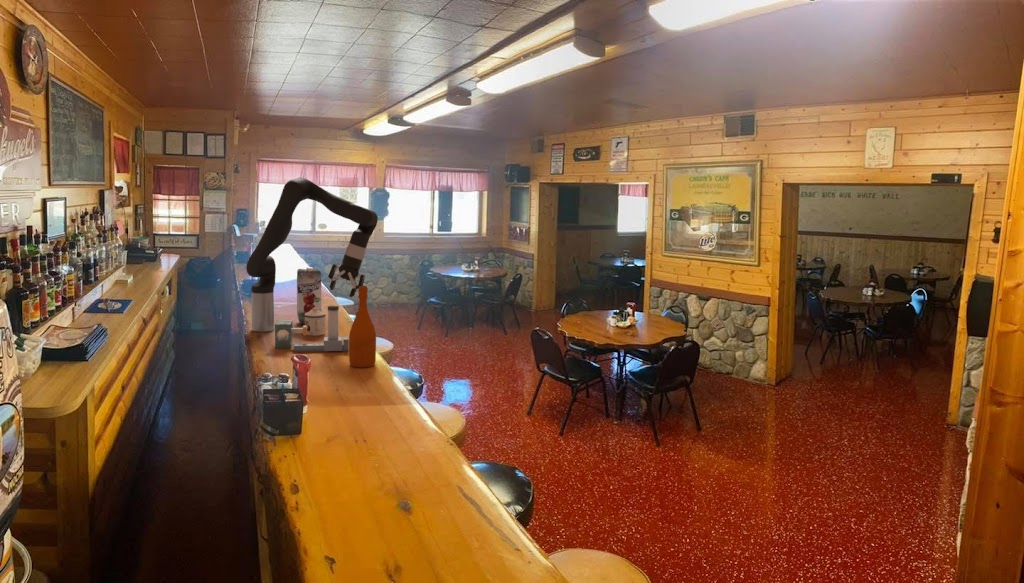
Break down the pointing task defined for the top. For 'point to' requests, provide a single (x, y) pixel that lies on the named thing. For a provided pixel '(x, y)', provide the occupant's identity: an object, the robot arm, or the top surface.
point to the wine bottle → (362, 335)
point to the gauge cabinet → (283, 334)
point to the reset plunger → (300, 330)
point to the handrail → (319, 347)
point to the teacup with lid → (315, 322)
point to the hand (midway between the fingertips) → (341, 293)
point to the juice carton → (308, 292)
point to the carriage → (333, 331)
